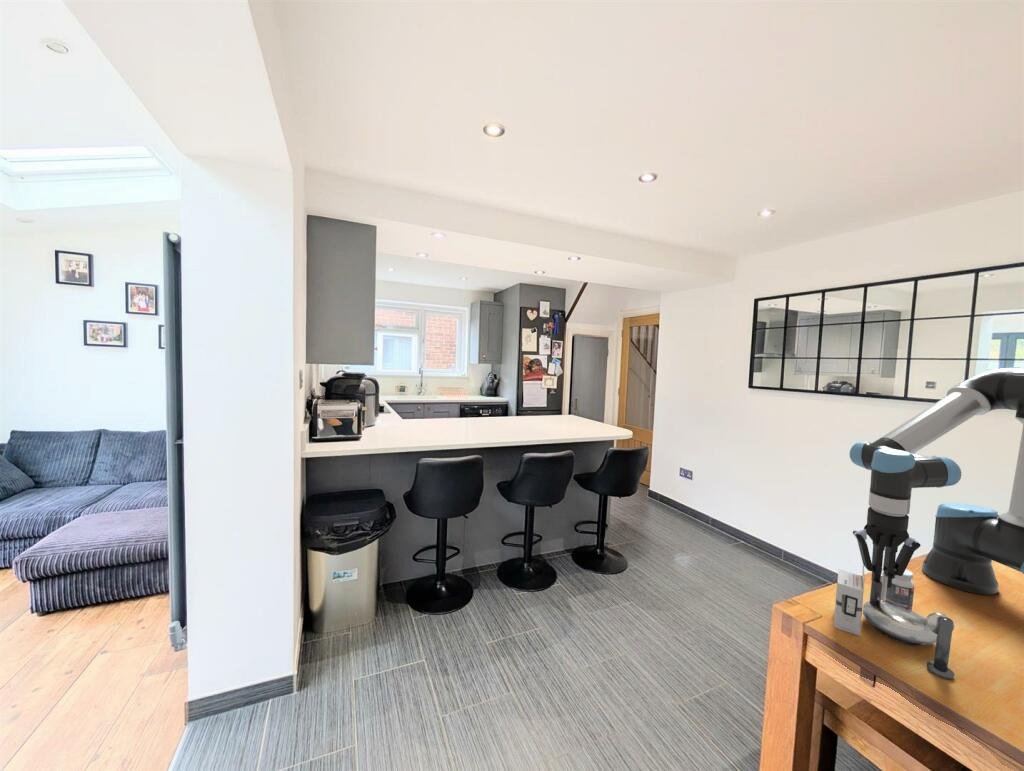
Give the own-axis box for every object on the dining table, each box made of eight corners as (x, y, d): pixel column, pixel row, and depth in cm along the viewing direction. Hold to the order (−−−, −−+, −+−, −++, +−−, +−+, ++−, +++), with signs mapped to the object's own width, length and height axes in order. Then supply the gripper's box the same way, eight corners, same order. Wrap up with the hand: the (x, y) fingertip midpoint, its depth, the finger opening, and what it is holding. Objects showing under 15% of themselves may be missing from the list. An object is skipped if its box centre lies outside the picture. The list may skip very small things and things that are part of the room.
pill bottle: (916, 615, 102) (920, 579, 101) (887, 608, 104) (890, 573, 103) (906, 602, 107) (910, 568, 106) (879, 596, 109) (882, 562, 108)
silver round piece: (850, 603, 103) (853, 576, 102) (907, 610, 100) (910, 582, 100) (887, 639, 90) (891, 608, 89) (954, 648, 88) (958, 616, 87)
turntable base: (897, 619, 100) (897, 612, 100) (935, 645, 91) (936, 638, 91) (862, 619, 100) (863, 612, 100) (897, 645, 91) (898, 638, 91)
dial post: (960, 681, 81) (967, 626, 80) (935, 677, 82) (941, 623, 81) (944, 666, 85) (950, 614, 84) (920, 662, 86) (926, 610, 85)
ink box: (834, 610, 103) (838, 557, 102) (859, 618, 100) (864, 564, 98) (833, 627, 96) (838, 571, 95) (860, 637, 93) (866, 579, 92)
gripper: (913, 508, 100) (904, 594, 102) (850, 501, 105) (843, 583, 107) (930, 520, 93) (920, 612, 95) (862, 512, 98) (855, 599, 100)
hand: (879, 597), depth 101 cm, fingers closed
